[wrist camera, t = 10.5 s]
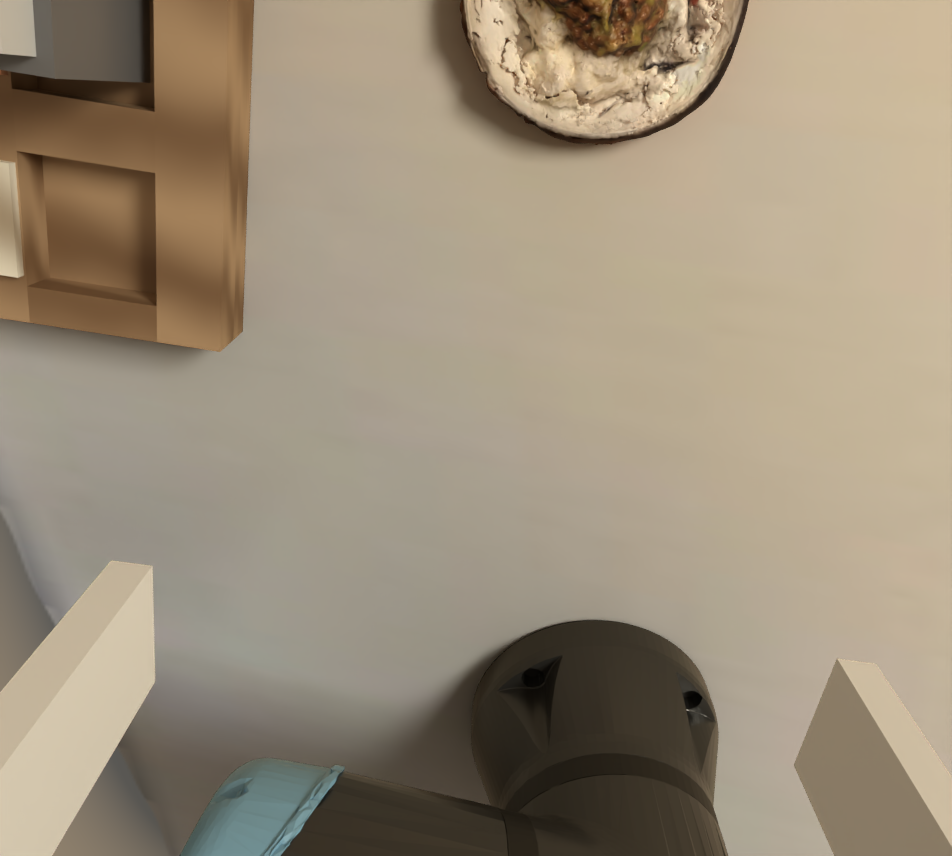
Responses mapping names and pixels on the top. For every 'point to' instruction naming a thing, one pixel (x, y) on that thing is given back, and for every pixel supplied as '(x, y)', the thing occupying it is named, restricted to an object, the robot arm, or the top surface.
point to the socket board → (133, 187)
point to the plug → (76, 39)
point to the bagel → (603, 61)
